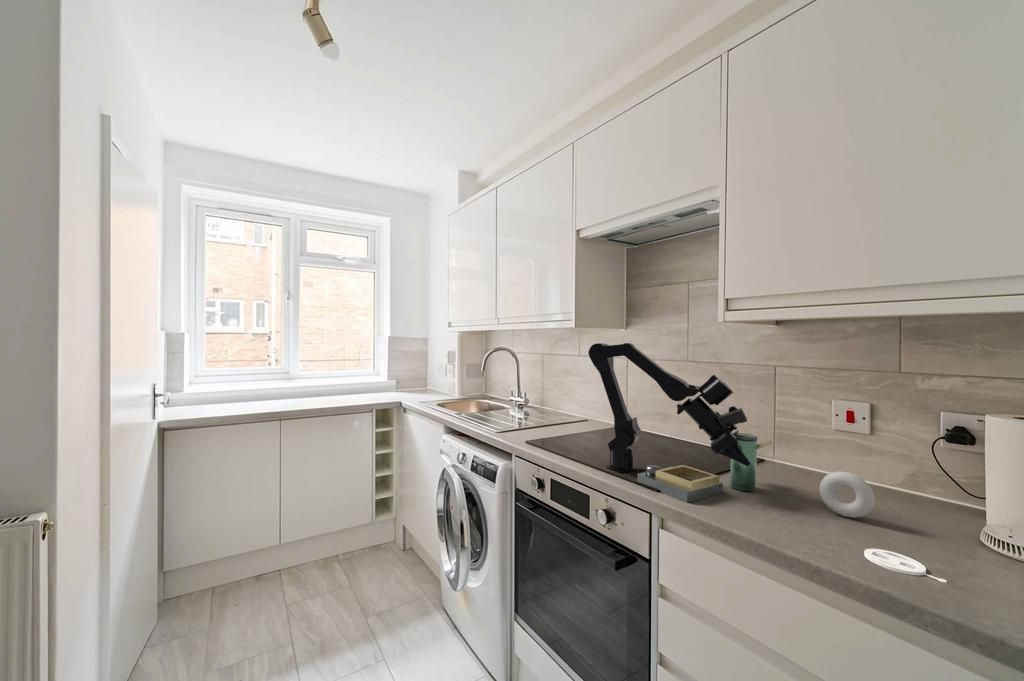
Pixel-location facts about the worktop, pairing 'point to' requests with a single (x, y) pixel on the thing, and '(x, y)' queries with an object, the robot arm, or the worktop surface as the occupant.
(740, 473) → the spout can
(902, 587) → the worktop surface
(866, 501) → the donut
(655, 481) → the grey tray base
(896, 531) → the worktop surface
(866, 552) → the pendant
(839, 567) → the worktop surface
